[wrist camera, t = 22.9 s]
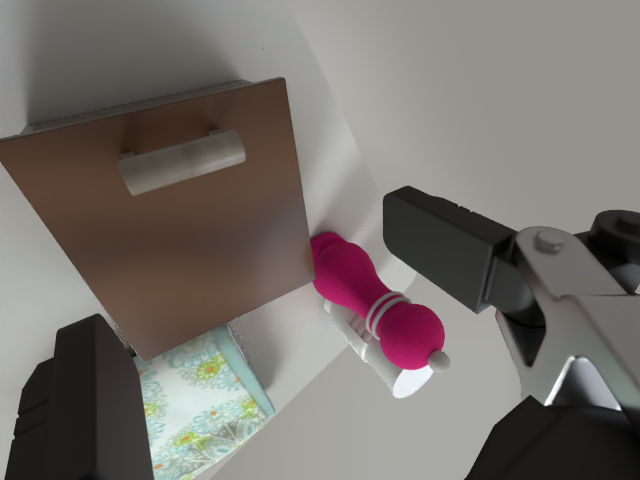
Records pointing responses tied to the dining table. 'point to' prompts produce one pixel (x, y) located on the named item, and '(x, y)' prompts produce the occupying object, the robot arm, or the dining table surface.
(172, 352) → the towel
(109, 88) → the dining table surface
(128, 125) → the lid
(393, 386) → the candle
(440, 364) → the pepper mill
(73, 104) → the dining table surface
